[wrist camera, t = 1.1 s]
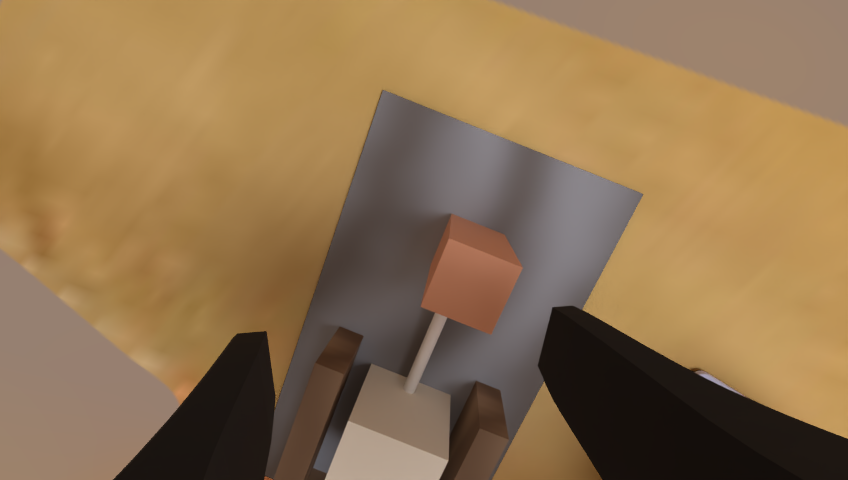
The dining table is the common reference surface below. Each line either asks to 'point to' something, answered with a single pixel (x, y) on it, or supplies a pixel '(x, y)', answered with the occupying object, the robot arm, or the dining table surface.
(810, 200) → the dining table surface
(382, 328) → the panel
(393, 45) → the dining table surface
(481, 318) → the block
